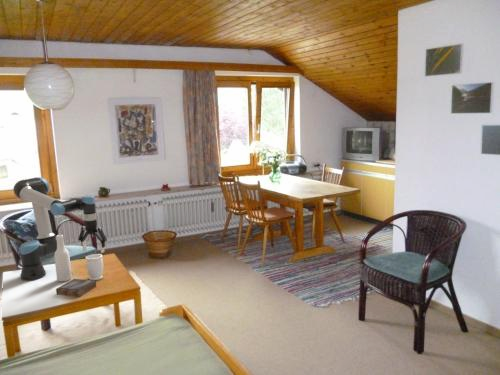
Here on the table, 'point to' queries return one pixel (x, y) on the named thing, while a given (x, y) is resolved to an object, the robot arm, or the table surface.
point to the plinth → (76, 287)
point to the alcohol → (62, 261)
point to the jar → (94, 266)
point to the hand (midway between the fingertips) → (93, 251)
